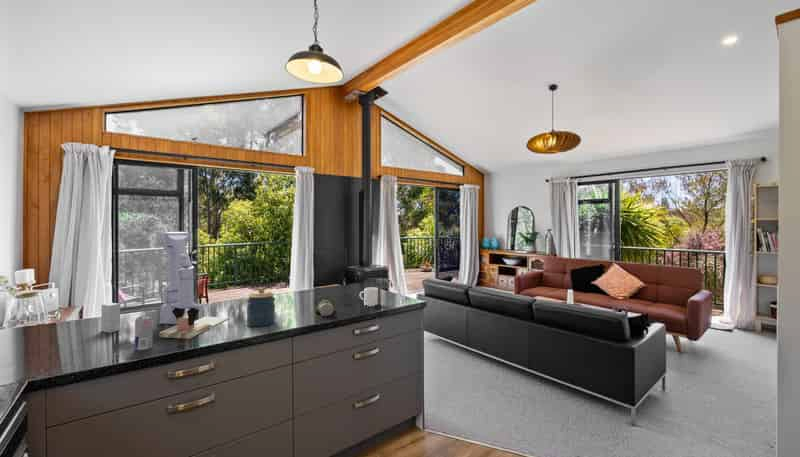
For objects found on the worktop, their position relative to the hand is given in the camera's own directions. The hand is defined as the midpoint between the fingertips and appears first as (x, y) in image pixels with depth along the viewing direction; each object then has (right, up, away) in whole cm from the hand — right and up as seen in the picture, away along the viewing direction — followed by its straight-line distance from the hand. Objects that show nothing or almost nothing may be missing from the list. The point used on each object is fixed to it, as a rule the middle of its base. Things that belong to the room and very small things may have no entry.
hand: (185, 324), depth 151 cm
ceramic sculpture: (+54, -4, +34) cm, 64 cm away
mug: (+76, -4, +54) cm, 93 cm away
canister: (+27, -4, +15) cm, 31 cm away
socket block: (0, -3, 0) cm, 3 cm away
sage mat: (+1, -3, +16) cm, 16 cm away
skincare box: (-34, -3, +1) cm, 34 cm away
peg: (0, -3, 0) cm, 3 cm away
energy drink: (-5, -4, -19) cm, 20 cm away
